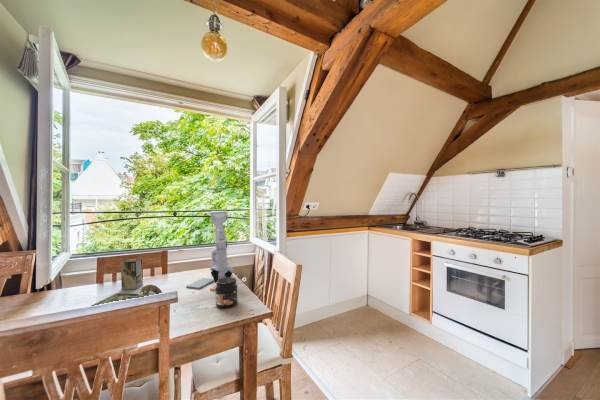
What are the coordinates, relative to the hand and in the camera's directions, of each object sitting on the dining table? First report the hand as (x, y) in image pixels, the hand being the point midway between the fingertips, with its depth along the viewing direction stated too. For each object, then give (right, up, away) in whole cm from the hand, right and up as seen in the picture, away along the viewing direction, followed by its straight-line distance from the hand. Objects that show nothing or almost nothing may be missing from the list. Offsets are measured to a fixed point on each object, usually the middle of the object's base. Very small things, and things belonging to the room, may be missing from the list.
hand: (222, 283), depth 147 cm
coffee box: (-54, -3, +1) cm, 54 cm away
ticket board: (-14, -2, +4) cm, 15 cm away
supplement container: (+10, -3, -24) cm, 26 cm away
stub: (0, -2, 0) cm, 2 cm away
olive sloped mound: (-41, -4, -20) cm, 45 cm away
